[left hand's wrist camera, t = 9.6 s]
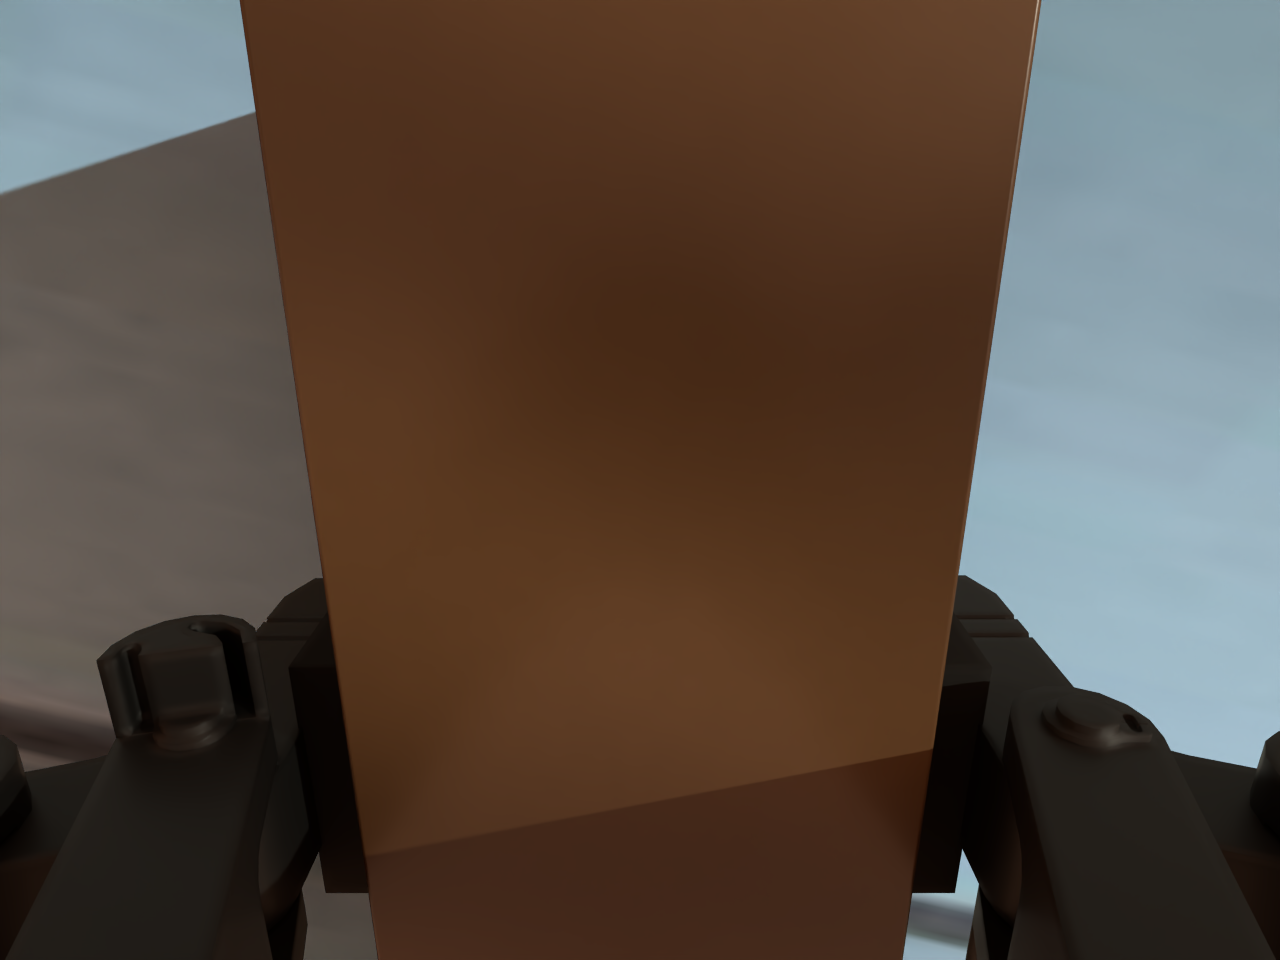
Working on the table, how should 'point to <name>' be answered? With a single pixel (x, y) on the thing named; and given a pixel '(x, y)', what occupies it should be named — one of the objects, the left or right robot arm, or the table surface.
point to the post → (640, 446)
